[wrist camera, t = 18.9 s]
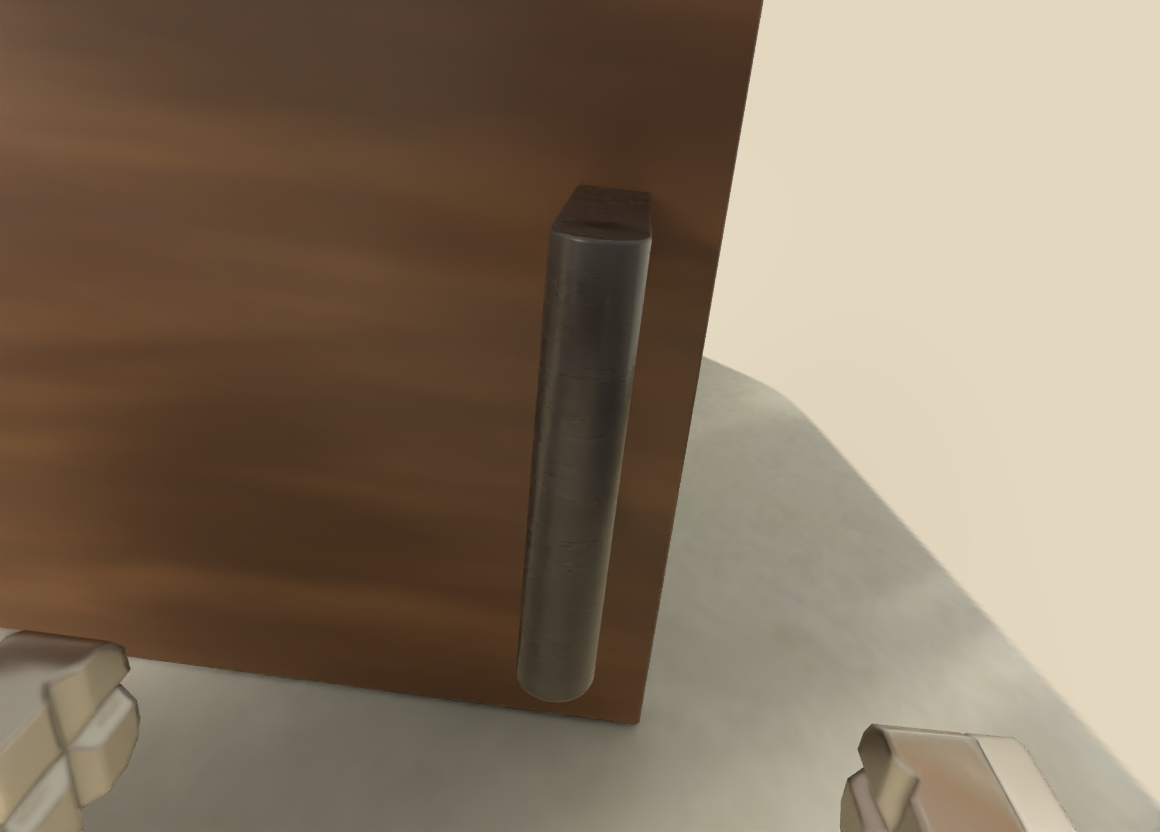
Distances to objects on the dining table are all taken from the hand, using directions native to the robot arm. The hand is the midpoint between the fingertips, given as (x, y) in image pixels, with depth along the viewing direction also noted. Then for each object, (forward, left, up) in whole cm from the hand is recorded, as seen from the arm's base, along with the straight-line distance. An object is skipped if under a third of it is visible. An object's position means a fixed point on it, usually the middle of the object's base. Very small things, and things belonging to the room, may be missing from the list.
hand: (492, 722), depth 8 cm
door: (+6, +10, -11) cm, 16 cm away
